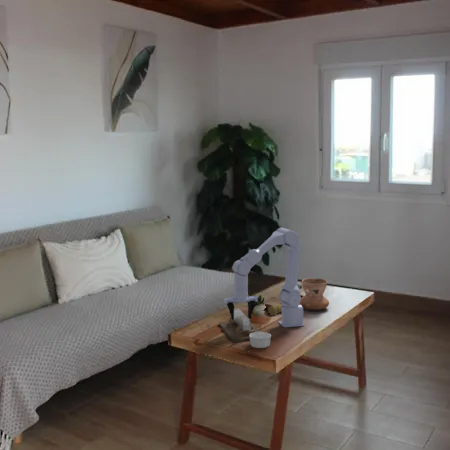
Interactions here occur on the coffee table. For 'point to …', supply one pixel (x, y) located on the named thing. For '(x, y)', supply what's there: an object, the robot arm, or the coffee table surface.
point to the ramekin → (260, 339)
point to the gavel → (274, 308)
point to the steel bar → (241, 319)
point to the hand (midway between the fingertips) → (241, 318)
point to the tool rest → (237, 331)
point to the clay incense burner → (314, 294)
